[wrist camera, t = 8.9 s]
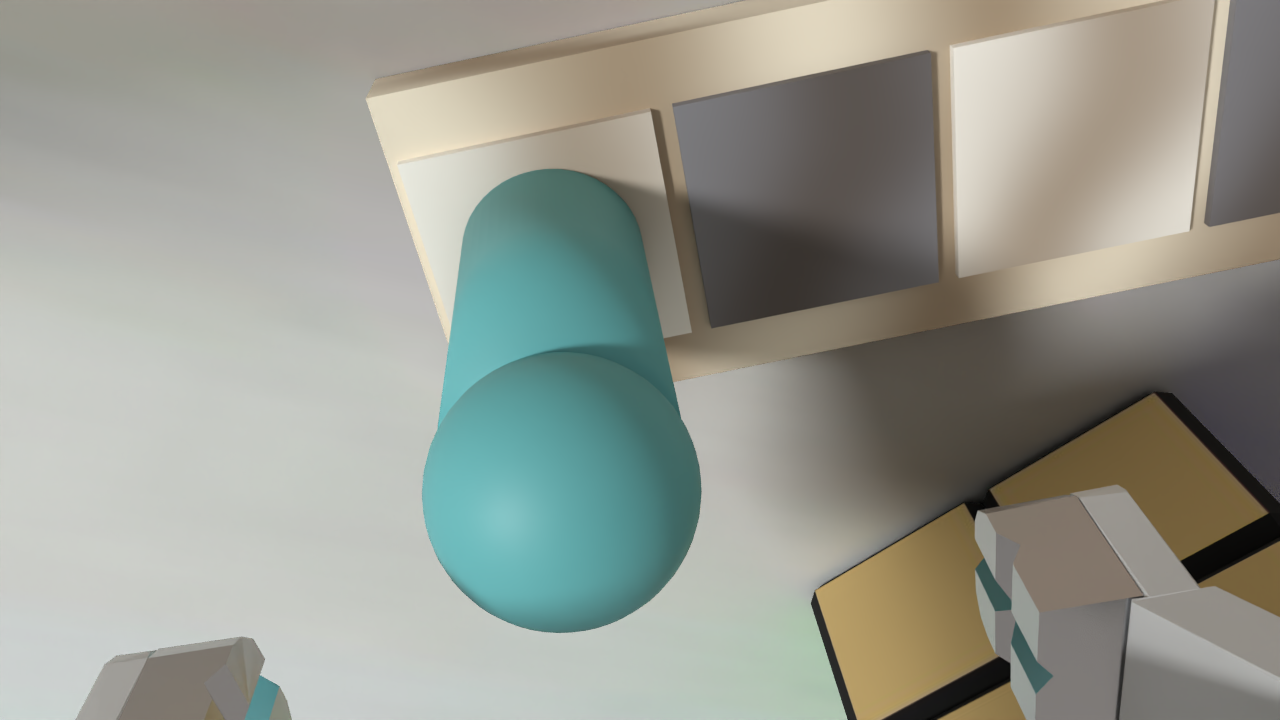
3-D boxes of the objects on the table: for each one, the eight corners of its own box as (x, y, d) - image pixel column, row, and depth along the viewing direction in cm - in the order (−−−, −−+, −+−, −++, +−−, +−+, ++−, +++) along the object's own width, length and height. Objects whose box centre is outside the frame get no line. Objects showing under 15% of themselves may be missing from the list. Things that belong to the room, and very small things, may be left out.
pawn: (481, 350, 20) (452, 716, 13) (434, 182, 18) (368, 497, 11) (660, 319, 20) (736, 666, 13) (632, 147, 18) (703, 438, 11)
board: (477, 391, 22) (473, 427, 21) (375, 78, 19) (364, 102, 17) (1390, 205, 22) (1439, 232, 21) (1470, -154, 18) (1536, -147, 17)
